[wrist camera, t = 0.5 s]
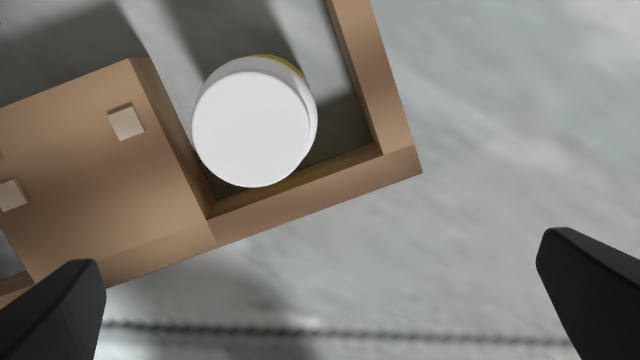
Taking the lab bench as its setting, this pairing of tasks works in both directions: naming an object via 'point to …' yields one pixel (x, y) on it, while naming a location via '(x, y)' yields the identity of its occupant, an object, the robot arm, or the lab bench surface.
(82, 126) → the slot rack
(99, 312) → the robot arm
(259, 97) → the supplement bottle
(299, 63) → the lab bench surface
